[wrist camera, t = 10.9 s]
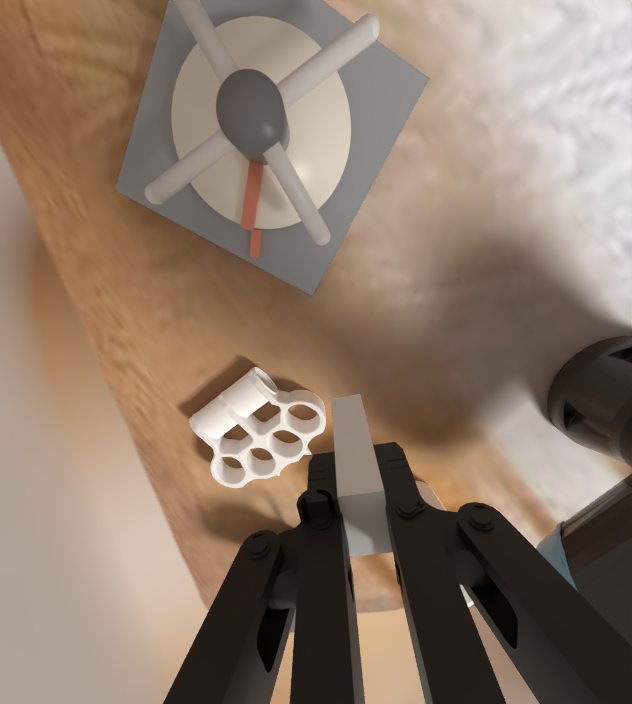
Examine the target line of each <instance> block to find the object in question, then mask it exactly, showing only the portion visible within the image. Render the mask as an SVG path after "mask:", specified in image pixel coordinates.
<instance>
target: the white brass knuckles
mask: <svg viewBox="0 0 632 704" xmlns="http://www.w3.org/2000/svg"><path fill="white" fill-rule="evenodd" d="M268 401H269V402H270V403H271V404H272V405H277V406H279V407H280V409H281V410H280V412H279V413H278V414H276V415H275V416H274V417H272V418H271V419H270V420H268V421H266V422H261V421H259V420H258V419H257V418H256V417H255V416H254V415H253V414H252V413H253V412H254V411H256V410H257V409H258V408H260V407H261V406H262V405H264V404H265V403H267V402H268ZM296 404H303V405H306V406H308V407H310V408H312V409H313V410H315V411H316V412H317V413H318V414H317V415H316V416H315V417H314V418H313V419H310V420H301V419H298V418H296V417H295V416H293V415H291V414H290V413H289V411H288V408H289V407H291V406H293V405H296ZM189 424H190V426H191V428H192V429H193V431H194V432H195V433H196V434H197V435H198V436H199V437H200V438H201V439H203V440H204V441H205V442H206V443H207V444H208V445H209V446H210V447H212V448H213V451H214V456H213V458H212V461H211V464H210V470H211V473H212V475H213V477H214V478H215V479H216V481H218V482H219V483H220V484H222V485H224V486H227V487H231V488H241V487H243V486H244V485H245V484H246V483H247V482H249V481H251V480H253V479H258V478H264V479H267V478H269V477H272V476H275V475H277V476H279V473H280V471H281V470H282V468H283V467H285V466H286V465H288V464H290V463H293V462H298V461H299V459H300V458H301V457H302V456H303V455H312V454H311V452H310V450H309V449H308V447H307V445H308V443H309V441H310V440H311V439H312V438H313V437H315V436H316V435H318V434H321V433H322V432H323V431H324V428H325V424H326V418H325V406H324V403H323V401H322V400H321V398H320V397H319V396H318V395H316V394H315V393H313V392H311V391H308V390H294V391H291V392H285V391H281V390H279V389H278V388H277V386H276V385H275V383H274V382H273V381H272V379H271V378H270V377H269V376H268V375H267V374H266V373H265V372H264V371H262V370H261V369H260V368H258V367H253V368H252V369H250V371H249V372H248V373H247V374H245V375H244V376H243V377H241V378H240V379H239V380H238V381H236V382H235V383H234V384H233V385H231V386H230V387H229V388H227V389H226V390H225V391H222V392H221V393H220V395H219V396H217V397H216V398H215V399H213V400H212V401H211V402H210V403H208V404H207V405H206V406H205V407H203V408H202V409H201V410H199V411H198V412H197V413H194V414H193V415H192V417H191V418H190V419H189ZM237 424H239V425H240V426H241V427H242V428H243V429H244V430H245V431H246V432H247V433H248V434H249V435H248V436H246V437H245V438H243V439H242V440H235V439H226V438H225V437H224V434H225V433H226V432H228V431H229V430H230V429H232V428H233V427H234V426H236V425H237ZM278 430H286V431H289V432H291V433H293V434H295V435H297V436H298V437H299V438H300V440H298V441H297V442H295V443H285V442H282V441H281V440H279V439H277V438H276V437H274V435H273V434H272V433H274V432H275V431H278ZM252 448H263V449H266V450H267V451H269V452H270V453H271V455H272V457H273V458H272V459H270V460H259V459H257V458H256V457H254V456H253V454H252V452H251V451H250V449H252ZM221 457H233V458H235V459H237V460H238V461H239V462H240V463H241V465H242V466H243V467H242V468H232V467H229V466H228V465H226V464H225V462H224V461H223V459H222V458H221ZM279 477H280V476H279Z"/></svg>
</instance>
